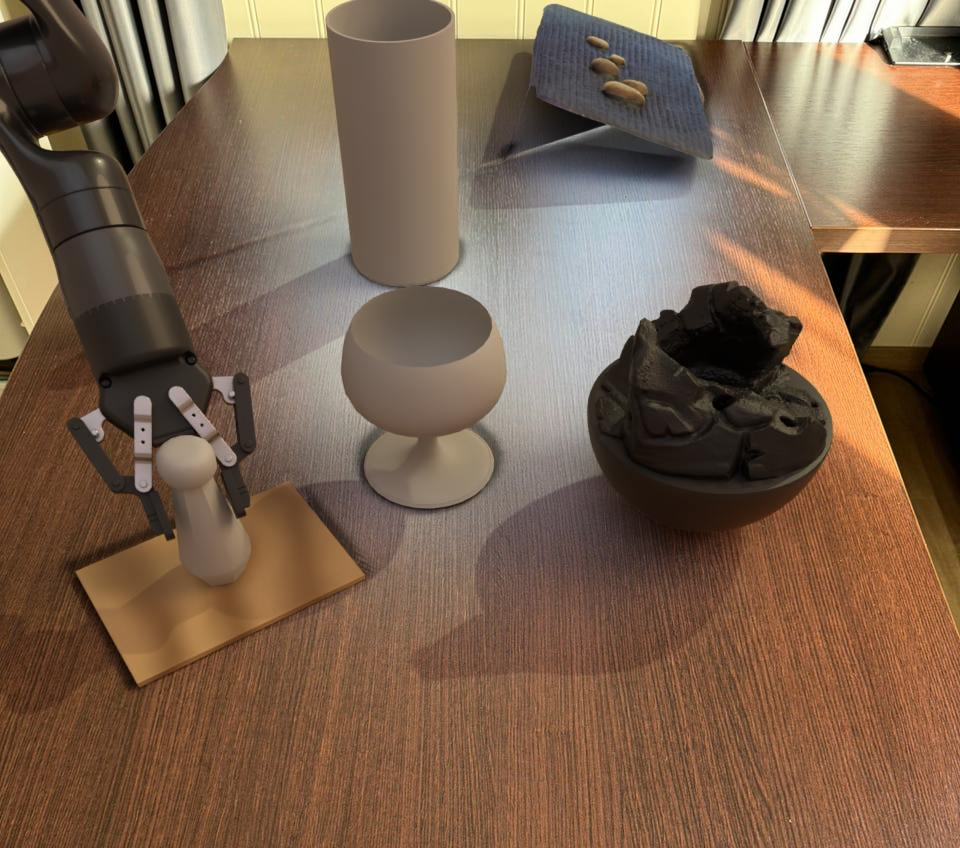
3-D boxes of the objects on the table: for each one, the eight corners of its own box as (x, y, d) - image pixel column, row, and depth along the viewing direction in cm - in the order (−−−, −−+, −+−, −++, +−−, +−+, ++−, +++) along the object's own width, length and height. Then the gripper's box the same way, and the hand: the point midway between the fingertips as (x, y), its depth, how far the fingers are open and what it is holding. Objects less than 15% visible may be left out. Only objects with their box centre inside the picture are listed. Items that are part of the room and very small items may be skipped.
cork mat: (139, 688, 71) (136, 683, 71) (77, 575, 78) (74, 571, 78) (365, 579, 78) (365, 574, 78) (289, 485, 85) (288, 480, 85)
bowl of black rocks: (808, 451, 88) (874, 266, 73) (790, 604, 76) (865, 421, 62) (602, 413, 92) (626, 229, 77) (554, 554, 80) (571, 369, 65)
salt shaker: (269, 555, 79) (238, 435, 69) (232, 602, 76) (193, 483, 65) (211, 536, 80) (172, 414, 70) (172, 581, 77) (125, 461, 67)
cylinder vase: (459, 290, 105) (454, 42, 85) (349, 290, 105) (319, 42, 85) (459, 233, 113) (455, -6, 93) (357, 233, 113) (331, -6, 93)
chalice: (338, 510, 83) (316, 368, 71) (371, 412, 92) (356, 271, 80) (493, 526, 82) (496, 385, 70) (512, 425, 90) (517, 284, 79)
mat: (513, 62, 151) (536, -19, 142) (668, 117, 155) (699, 42, 147) (501, 175, 121) (529, 81, 112) (694, 239, 125) (734, 153, 117)
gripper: (15, 319, 63) (110, 557, 66) (221, 269, 67) (302, 496, 70) (31, 345, 70) (116, 559, 73) (216, 298, 74) (290, 503, 77)
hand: (206, 527), depth 71 cm, fingers open, 5 cm apart
